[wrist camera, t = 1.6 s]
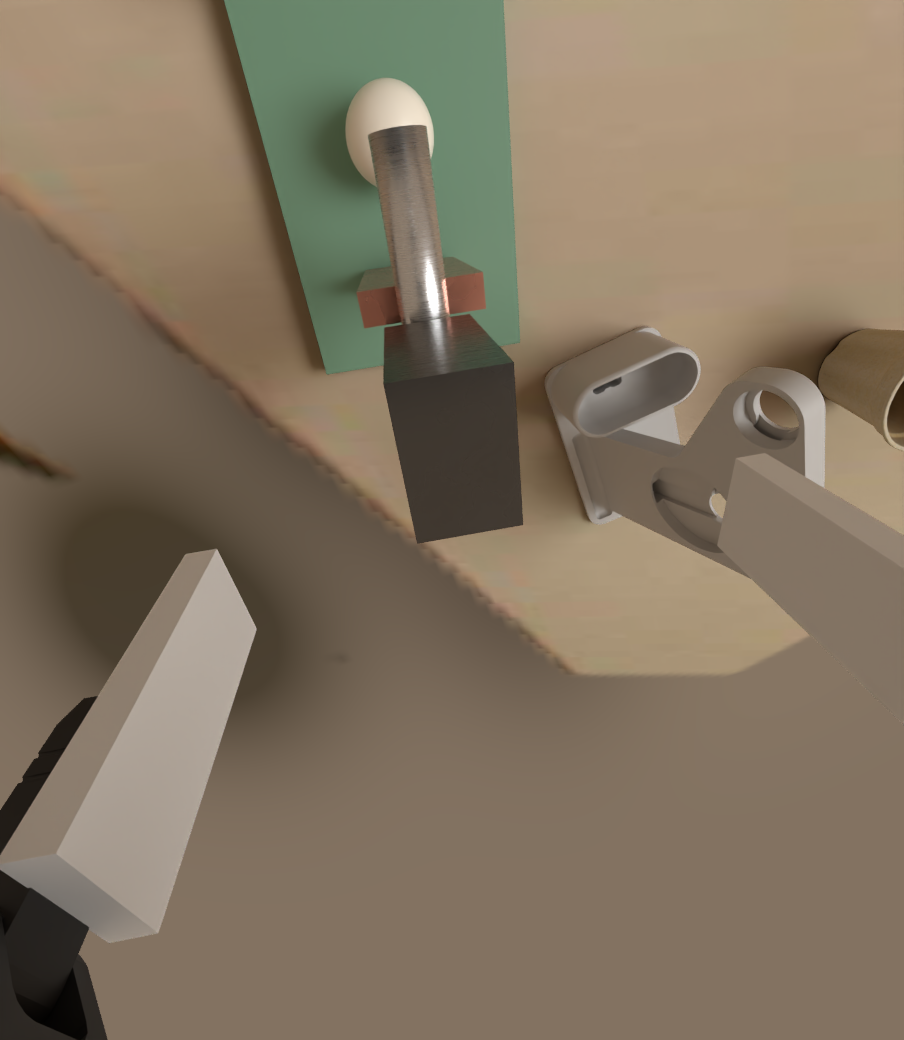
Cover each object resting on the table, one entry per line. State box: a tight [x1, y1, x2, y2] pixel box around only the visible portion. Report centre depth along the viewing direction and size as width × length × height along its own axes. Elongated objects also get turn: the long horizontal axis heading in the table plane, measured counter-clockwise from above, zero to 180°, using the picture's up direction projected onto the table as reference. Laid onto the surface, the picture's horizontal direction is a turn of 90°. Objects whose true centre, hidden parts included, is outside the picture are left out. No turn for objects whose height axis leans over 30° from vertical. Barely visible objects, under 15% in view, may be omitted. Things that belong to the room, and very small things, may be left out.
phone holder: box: [545, 326, 825, 579], centre depth 36 cm, size 17×10×18 cm, turn 24°
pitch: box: [224, 0, 520, 374], centre depth 27 cm, size 31×15×6 cm, turn 8°
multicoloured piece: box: [356, 125, 523, 543], centre depth 23 cm, size 13×6×22 cm, turn 8°
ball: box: [345, 78, 434, 187], centre depth 27 cm, size 5×5×5 cm
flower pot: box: [818, 329, 904, 451], centre depth 39 cm, size 9×9×9 cm
